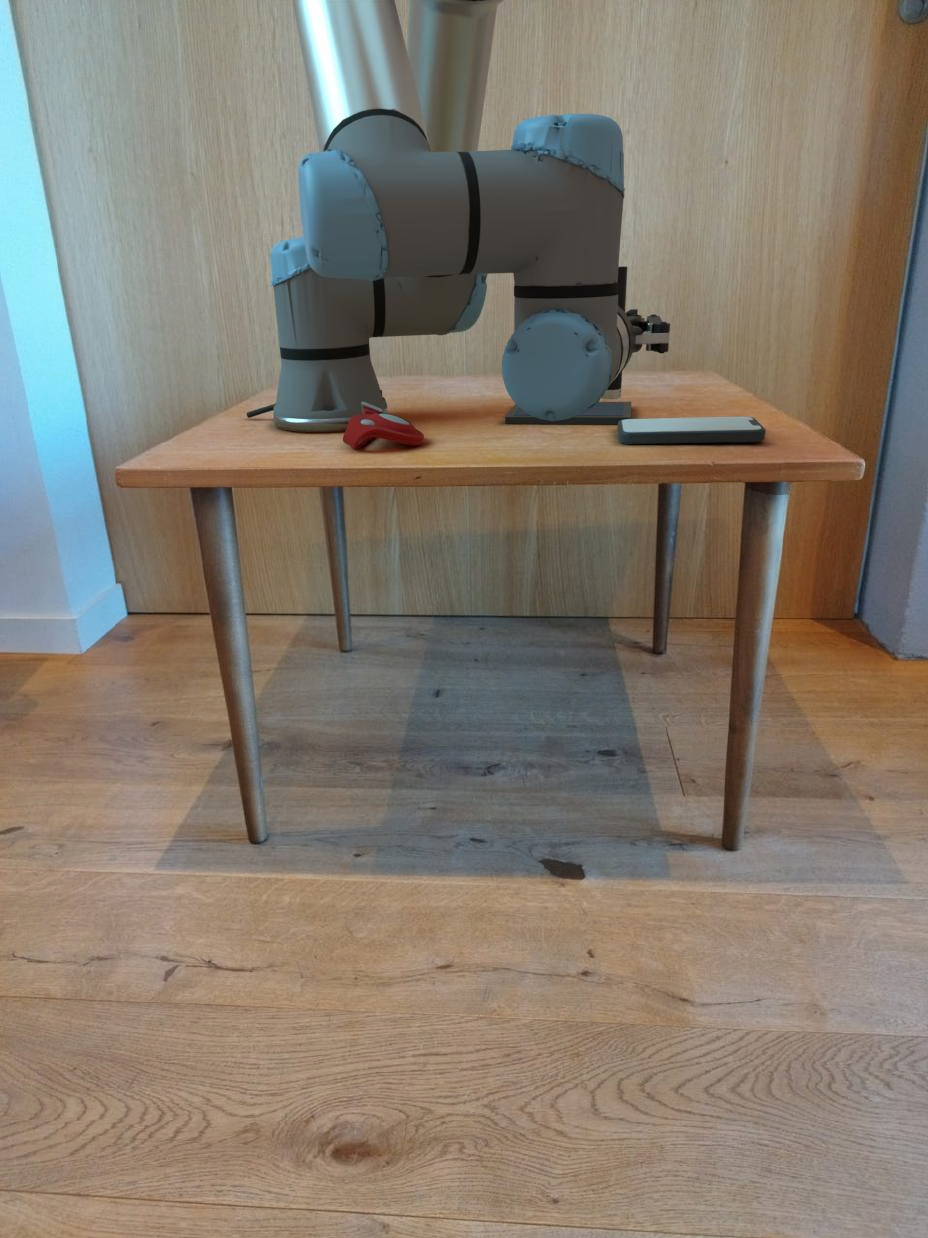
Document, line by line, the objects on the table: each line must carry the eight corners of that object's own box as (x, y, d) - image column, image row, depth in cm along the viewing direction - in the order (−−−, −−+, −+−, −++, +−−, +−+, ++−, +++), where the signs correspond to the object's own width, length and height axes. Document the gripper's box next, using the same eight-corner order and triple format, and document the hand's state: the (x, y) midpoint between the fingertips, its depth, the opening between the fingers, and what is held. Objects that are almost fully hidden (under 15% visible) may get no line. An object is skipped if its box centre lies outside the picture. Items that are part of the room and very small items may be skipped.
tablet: (505, 423, 106) (505, 416, 106) (517, 407, 117) (517, 400, 116) (630, 424, 103) (631, 416, 103) (631, 408, 114) (631, 401, 113)
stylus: (594, 398, 88) (599, 267, 83) (604, 395, 90) (610, 266, 84) (614, 400, 87) (620, 266, 81) (624, 396, 89) (631, 266, 83)
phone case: (619, 447, 93) (766, 444, 90) (619, 433, 92) (768, 429, 90) (617, 431, 101) (752, 428, 98) (617, 418, 100) (753, 415, 98)
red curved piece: (443, 431, 96) (383, 424, 89) (432, 467, 98) (372, 463, 90) (376, 398, 103) (315, 389, 95) (367, 432, 105) (306, 425, 97)
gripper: (498, 389, 73) (549, 357, 94) (674, 393, 69) (688, 358, 90) (497, 300, 70) (550, 286, 91) (682, 298, 66) (694, 284, 86)
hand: (619, 322), depth 90 cm, fingers closed on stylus, 2 cm apart
